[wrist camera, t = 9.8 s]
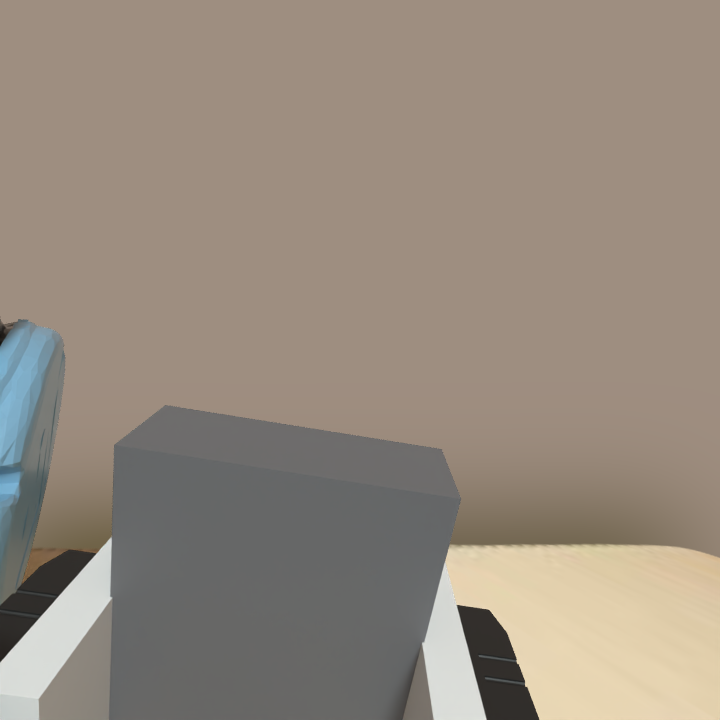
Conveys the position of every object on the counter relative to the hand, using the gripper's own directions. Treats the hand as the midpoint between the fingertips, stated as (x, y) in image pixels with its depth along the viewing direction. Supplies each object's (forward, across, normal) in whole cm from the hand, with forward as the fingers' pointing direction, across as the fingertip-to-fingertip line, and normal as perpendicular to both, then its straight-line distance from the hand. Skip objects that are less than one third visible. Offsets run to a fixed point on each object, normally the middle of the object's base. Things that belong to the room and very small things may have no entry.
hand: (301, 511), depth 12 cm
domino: (-4, 0, -6) cm, 7 cm away
